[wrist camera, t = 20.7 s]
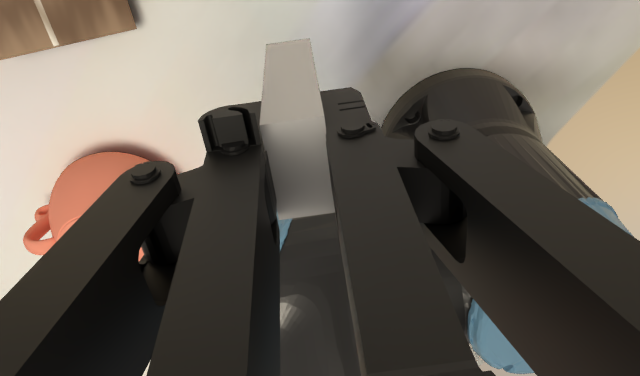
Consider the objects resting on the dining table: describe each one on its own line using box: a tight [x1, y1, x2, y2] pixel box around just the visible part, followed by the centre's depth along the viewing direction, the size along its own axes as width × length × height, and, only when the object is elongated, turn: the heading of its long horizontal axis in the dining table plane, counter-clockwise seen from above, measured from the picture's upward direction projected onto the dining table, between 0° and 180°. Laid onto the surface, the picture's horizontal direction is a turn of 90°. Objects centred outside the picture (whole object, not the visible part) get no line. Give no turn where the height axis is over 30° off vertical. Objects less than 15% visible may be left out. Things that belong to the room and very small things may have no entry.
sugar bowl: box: [23, 152, 148, 261], centre depth 44 cm, size 12×14×10 cm
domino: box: [0, 0, 137, 60], centre depth 35 cm, size 6×2×12 cm
